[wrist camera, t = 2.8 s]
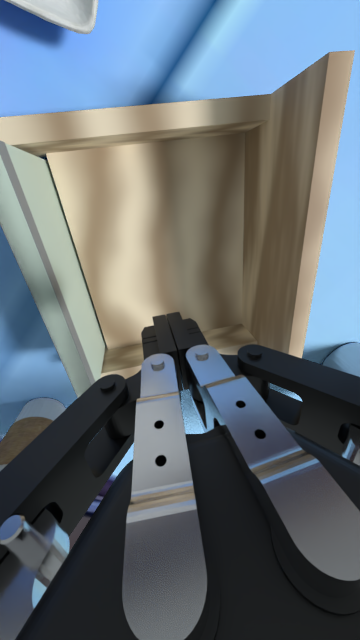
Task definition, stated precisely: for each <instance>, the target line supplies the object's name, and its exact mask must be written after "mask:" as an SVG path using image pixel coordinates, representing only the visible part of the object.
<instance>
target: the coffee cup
mask: <svg viewBox="0 0 360 640" xmlns="http://www.w3.org/2000/svg"><path fill="white" fill-rule="evenodd" d="M65 410H66V408H65V407H64V405H63V404H62V403H61V402H59V401H57V400H55V399H51V398H37V399H33V400H31V401H29V402H28V403H26V405H25V406H24V407H23V409H22V410H21V412H20V413H19V415H18V417H17V418H16V420H15V422H14V423H13V425H12V426H11V427H10V429H9V430H8V432H7V434H6V435H5V437H4V438H3V440H2V441H1V443H0V471H1V470H2V469H3V468H4V467H5V466H6V465H7V464H8V463H10V462H11V461H12V460H13V459H14V458H15V457H16V456H17V455H18V454H19V453H20V452H21V451H22V450H23V449H24V448H25V447H27V446H28V445H29V444H30V443H31V442H32V441H33V440H34V439H35V438H36V437H37V436H38V435H39V434H40V433H41V432H42V431H44V430H45V429H46V428H47V427H48V426H49V425H50V424H51V423H52V422H53V421H54V420H55V419H56V418H57V417H58V416H59V415H60V414H62V413H63V412H64V411H65Z"/></svg>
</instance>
